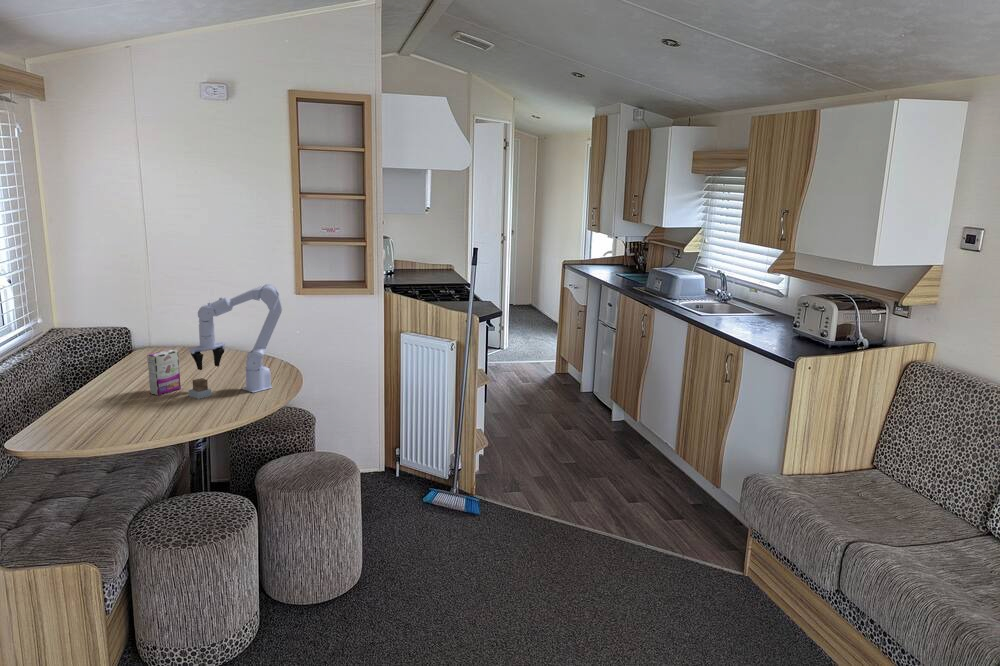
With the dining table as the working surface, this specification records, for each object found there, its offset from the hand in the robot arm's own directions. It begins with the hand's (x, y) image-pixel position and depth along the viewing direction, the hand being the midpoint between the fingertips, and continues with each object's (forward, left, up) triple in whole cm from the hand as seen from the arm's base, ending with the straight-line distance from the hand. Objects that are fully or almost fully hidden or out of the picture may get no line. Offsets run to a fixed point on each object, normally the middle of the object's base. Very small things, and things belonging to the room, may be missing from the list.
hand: (208, 367), depth 288 cm
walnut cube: (+6, +3, -7) cm, 10 cm away
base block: (+6, +3, -10) cm, 12 cm away
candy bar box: (+12, -12, -10) cm, 20 cm away
